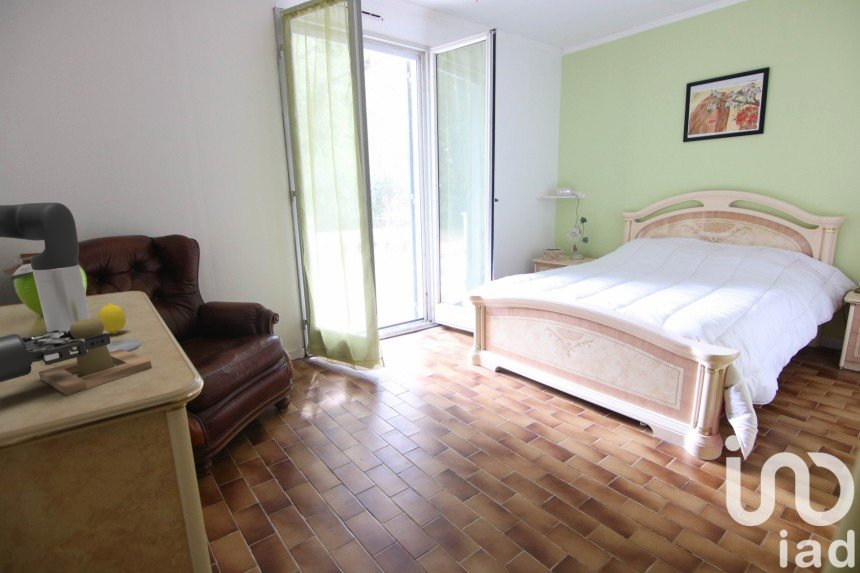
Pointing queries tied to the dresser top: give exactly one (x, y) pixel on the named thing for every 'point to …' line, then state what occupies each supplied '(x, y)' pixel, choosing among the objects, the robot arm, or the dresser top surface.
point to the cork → (95, 357)
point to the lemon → (112, 318)
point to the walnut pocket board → (72, 384)
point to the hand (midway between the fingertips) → (99, 334)
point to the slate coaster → (124, 345)
